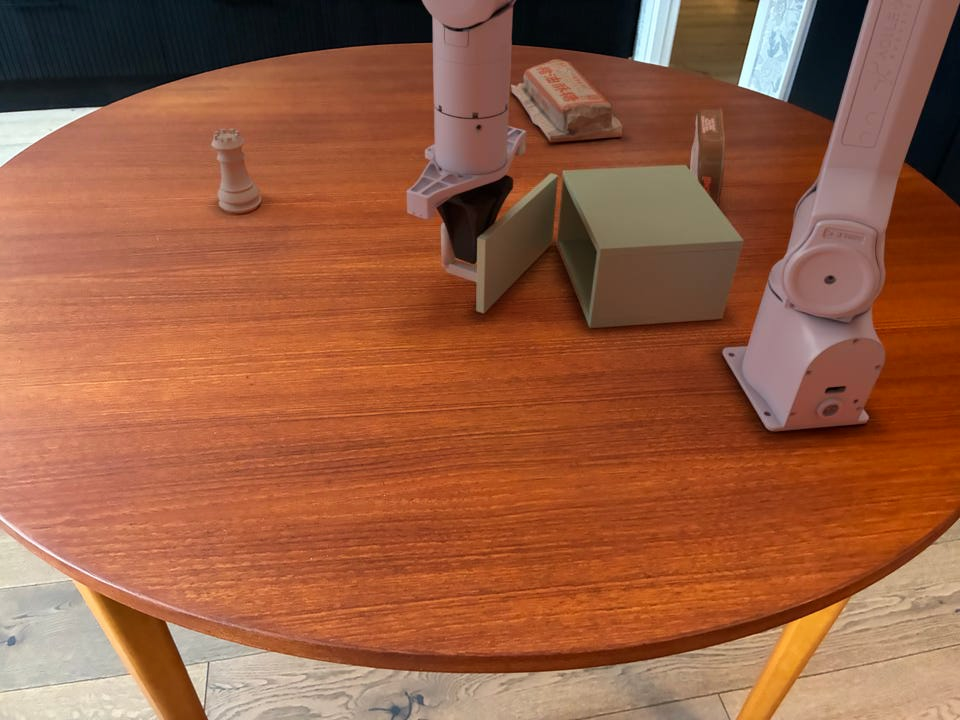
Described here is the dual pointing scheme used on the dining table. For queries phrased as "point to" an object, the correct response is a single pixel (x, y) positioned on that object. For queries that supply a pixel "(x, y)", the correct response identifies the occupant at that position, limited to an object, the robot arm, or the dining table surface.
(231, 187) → the rook chess piece
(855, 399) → the robot arm
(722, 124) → the tin
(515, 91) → the packaged product
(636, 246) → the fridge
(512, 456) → the dining table surface
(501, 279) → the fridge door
